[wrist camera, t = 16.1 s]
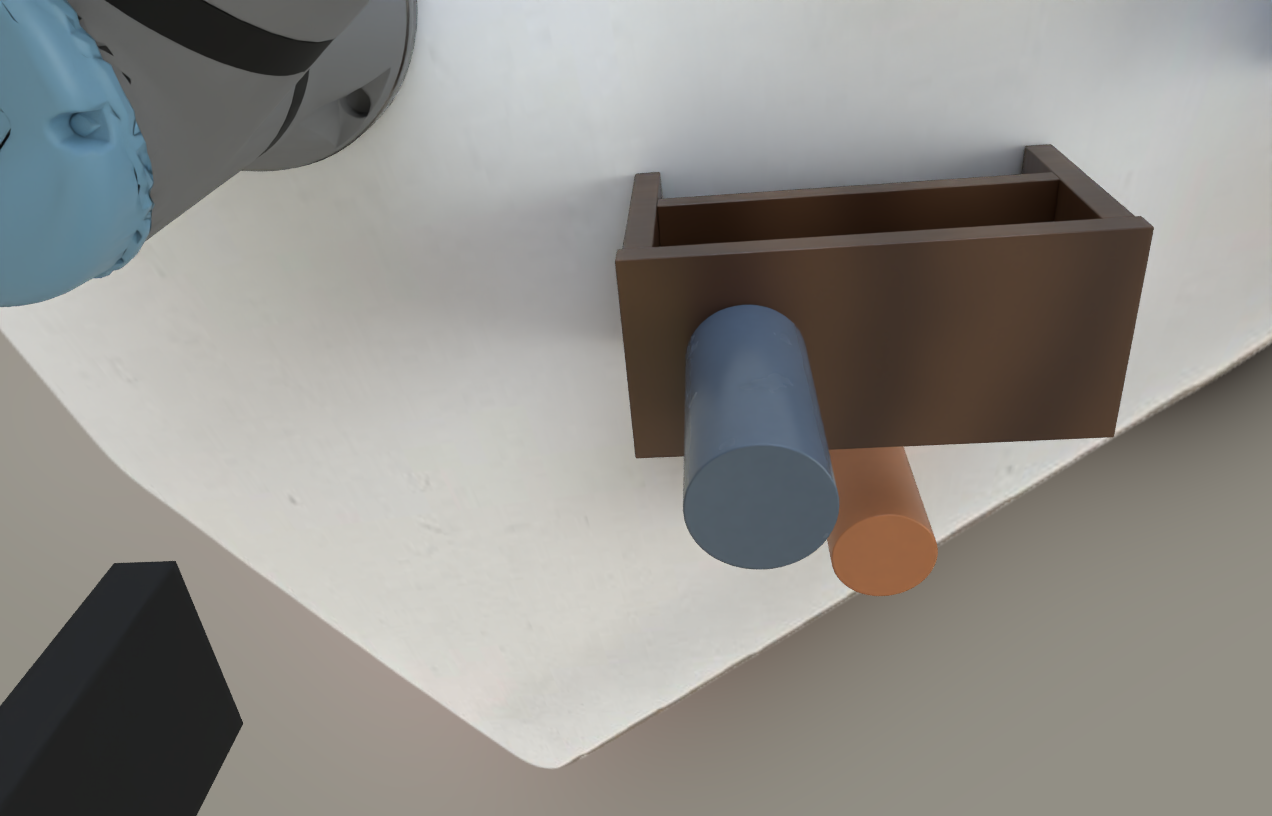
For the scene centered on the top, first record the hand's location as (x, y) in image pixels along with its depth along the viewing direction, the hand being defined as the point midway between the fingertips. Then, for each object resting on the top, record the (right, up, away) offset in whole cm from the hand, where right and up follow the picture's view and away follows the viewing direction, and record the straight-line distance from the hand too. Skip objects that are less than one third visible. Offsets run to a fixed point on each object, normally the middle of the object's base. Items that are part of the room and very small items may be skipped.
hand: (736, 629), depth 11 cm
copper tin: (+11, +1, +42) cm, 43 cm away
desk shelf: (+9, +10, +36) cm, 39 cm away
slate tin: (+3, +5, +27) cm, 28 cm away
